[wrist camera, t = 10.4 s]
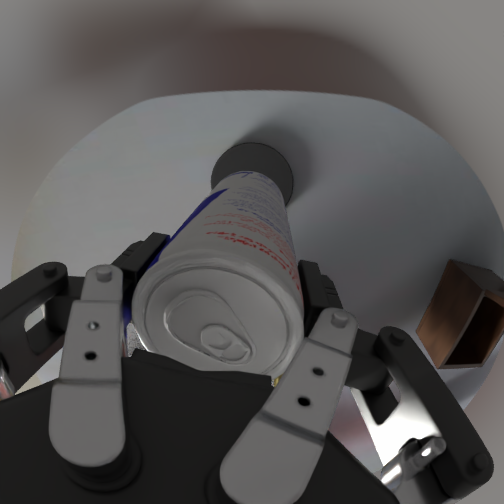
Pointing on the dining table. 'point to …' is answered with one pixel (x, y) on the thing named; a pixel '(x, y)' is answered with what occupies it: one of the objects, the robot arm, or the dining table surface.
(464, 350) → the chest
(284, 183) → the mat
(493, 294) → the lid
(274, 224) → the beverage can
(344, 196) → the dining table surface
